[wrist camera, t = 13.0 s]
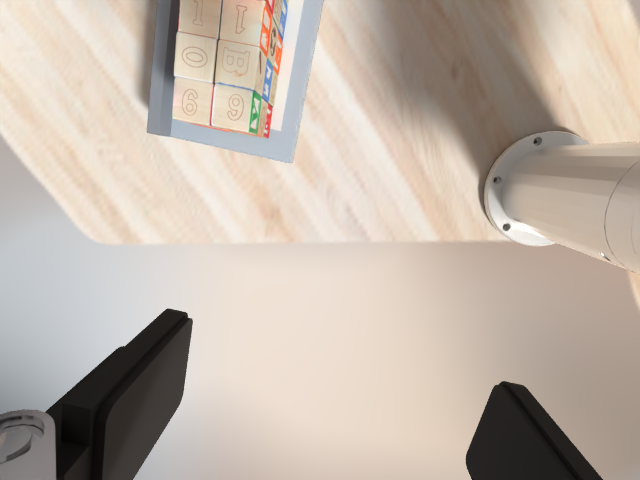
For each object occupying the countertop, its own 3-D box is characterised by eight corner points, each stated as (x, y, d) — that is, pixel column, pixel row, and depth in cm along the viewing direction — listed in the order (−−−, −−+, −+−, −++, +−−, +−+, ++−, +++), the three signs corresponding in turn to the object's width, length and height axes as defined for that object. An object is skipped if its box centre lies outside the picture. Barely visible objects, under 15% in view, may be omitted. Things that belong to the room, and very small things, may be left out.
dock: (344, -111, 32) (346, -164, 27) (292, 162, 38) (286, 163, 33) (201, -145, 32) (174, -204, 26) (172, 136, 38) (146, 132, 33)
